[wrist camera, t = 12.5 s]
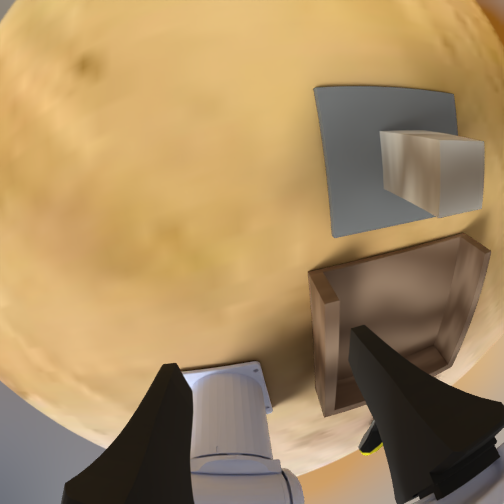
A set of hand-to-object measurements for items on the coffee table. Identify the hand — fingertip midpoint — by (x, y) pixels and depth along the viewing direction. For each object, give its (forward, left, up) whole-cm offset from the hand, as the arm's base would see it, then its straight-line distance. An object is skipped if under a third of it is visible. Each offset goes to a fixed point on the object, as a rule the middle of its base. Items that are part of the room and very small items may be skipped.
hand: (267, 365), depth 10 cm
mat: (+6, -12, -9) cm, 16 cm away
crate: (-9, -12, -9) cm, 18 cm away
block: (+5, -12, -9) cm, 16 cm away
